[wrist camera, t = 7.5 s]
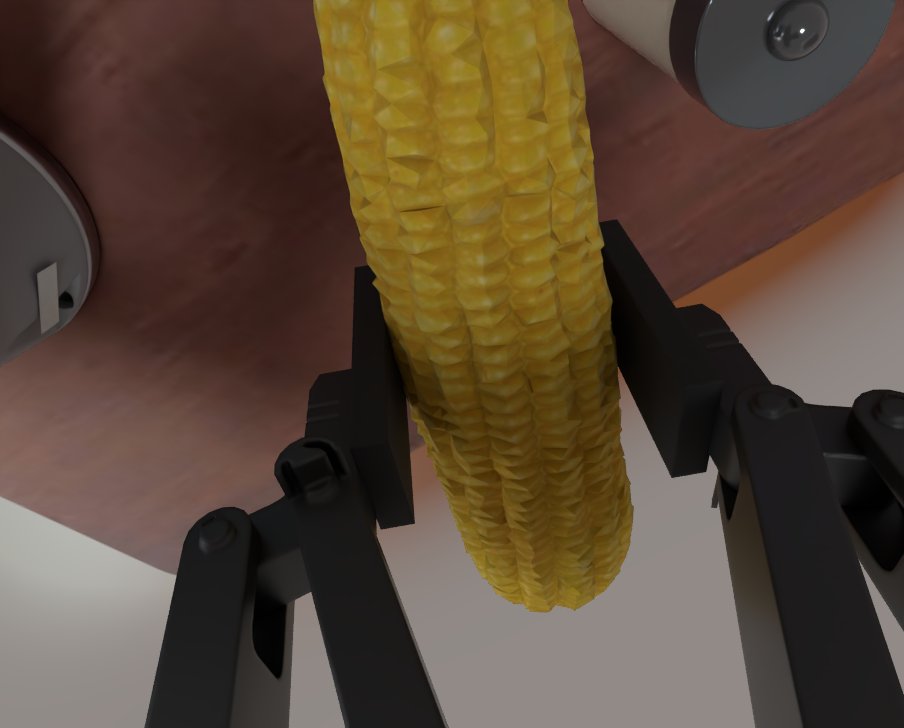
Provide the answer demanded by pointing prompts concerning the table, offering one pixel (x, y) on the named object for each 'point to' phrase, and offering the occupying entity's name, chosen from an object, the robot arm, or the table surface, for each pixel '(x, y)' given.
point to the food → (490, 273)
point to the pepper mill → (752, 50)
